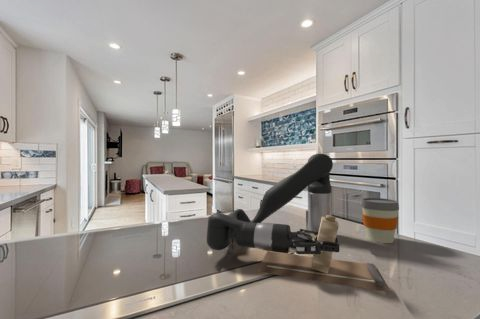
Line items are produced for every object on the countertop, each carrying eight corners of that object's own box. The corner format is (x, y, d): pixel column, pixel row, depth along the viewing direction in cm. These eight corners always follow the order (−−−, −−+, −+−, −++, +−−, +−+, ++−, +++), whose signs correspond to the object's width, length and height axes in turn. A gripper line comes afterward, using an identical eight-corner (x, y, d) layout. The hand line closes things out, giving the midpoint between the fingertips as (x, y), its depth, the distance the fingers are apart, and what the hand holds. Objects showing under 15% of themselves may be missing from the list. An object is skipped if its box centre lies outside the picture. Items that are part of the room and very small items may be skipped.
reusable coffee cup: (356, 239, 89) (356, 200, 89) (366, 232, 98) (366, 196, 98) (395, 247, 80) (395, 204, 80) (402, 239, 89) (401, 200, 89)
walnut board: (256, 277, 60) (256, 267, 60) (267, 256, 73) (267, 248, 73) (390, 298, 50) (389, 287, 50) (374, 270, 63) (374, 261, 63)
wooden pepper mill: (311, 268, 60) (323, 216, 59) (311, 261, 63) (322, 212, 63) (327, 273, 58) (339, 220, 57) (326, 267, 62) (338, 216, 61)
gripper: (276, 242, 71) (336, 249, 66) (267, 260, 58) (341, 271, 53) (276, 217, 72) (336, 223, 66) (267, 231, 58) (341, 238, 53)
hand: (338, 244), depth 59 cm, fingers closed on wooden pepper mill, 4 cm apart
